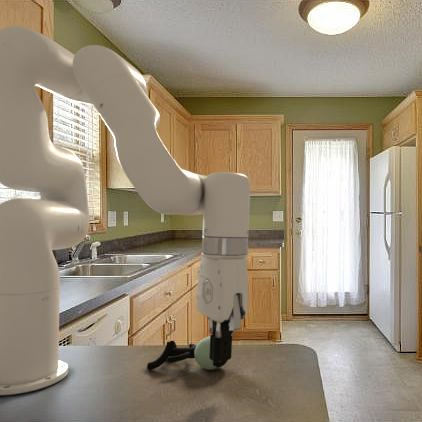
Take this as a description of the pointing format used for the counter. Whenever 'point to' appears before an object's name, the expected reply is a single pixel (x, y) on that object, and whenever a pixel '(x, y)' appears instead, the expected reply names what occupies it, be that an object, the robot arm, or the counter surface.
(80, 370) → the counter surface
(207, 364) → the toy
